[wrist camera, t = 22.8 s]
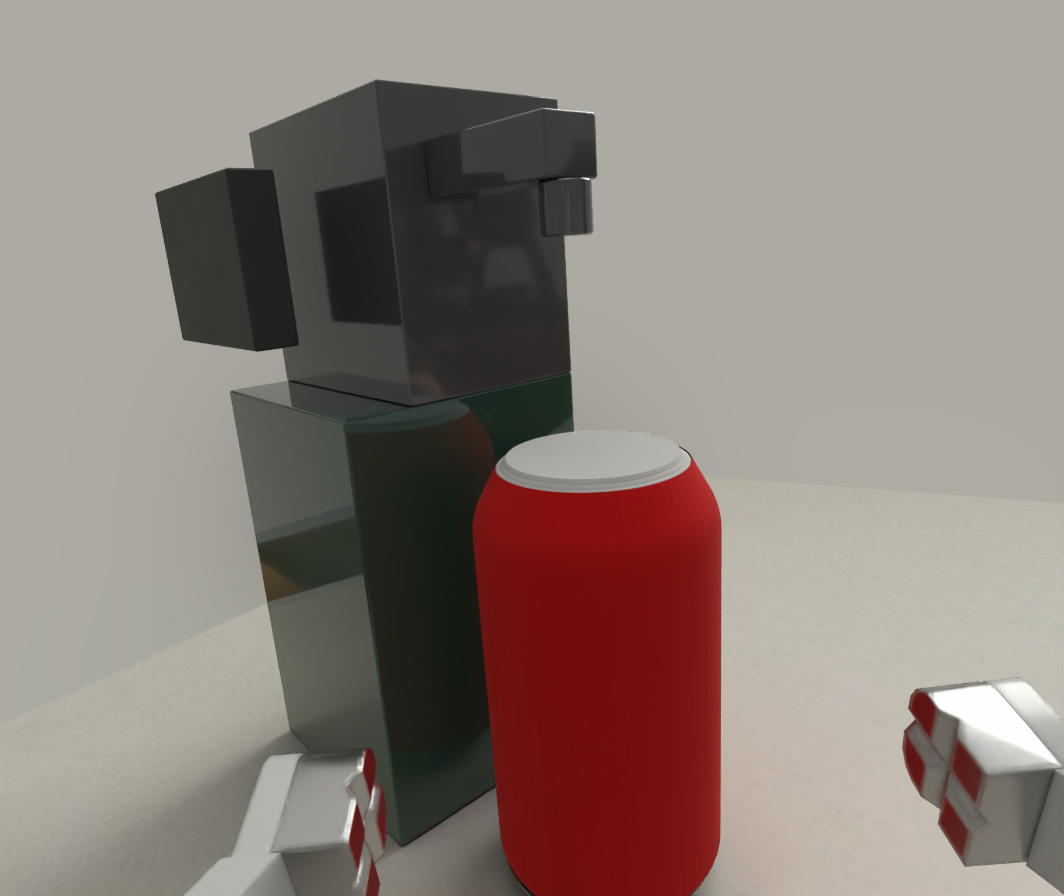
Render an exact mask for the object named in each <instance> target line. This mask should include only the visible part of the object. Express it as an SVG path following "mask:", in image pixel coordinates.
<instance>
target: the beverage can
mask: <svg viewBox="0 0 1064 896" xmlns="http://www.w3.org/2000/svg"><path fill="white" fill-rule="evenodd" d="M473 544H474V555H475V566H476V576H477V587H478V598H479V609H480V619H481V630H482V641H483V652H484V662H485V673H486V684H487V695H488V706H489V716H490V727H491V738H492V749H493V759H494V770H495V781H496V792H497V802H498V813H499V824H500V835H501V841H502V846H503V850H504V853H505V855H506V858H507V860H508V863H509V865H510V868H511V870H512V872H513V874H514V876H515V878H516V879H517V881H518V882H519V884H520V885H521V887H522V888H523V889H524V890H525V892H526V893H527V894H528V895H529V896H693V895H694V894H695V892H696V891H697V890H698V888H699V887H700V886H701V884H702V882H703V881H704V879H705V878H706V876H707V875H708V873H709V871H710V869H711V868H712V866H713V863H714V861H715V858H716V856H717V852H718V848H719V843H720V791H721V517H720V511H719V507H718V504H717V501H716V499H715V496H714V494H713V492H712V490H711V488H710V487H709V485H708V483H707V482H706V480H705V478H704V477H703V475H702V473H701V472H700V470H699V468H698V466H697V465H696V463H695V462H694V460H693V458H692V456H691V455H690V454H689V452H687V451H686V450H685V449H683V448H682V447H680V446H678V445H676V443H674V442H672V441H671V440H669V439H666V438H664V437H661V436H657V435H653V434H648V433H642V432H634V431H622V430H589V431H576V432H567V433H560V434H554V435H549V436H544V437H540V438H536V439H533V440H530V441H527V442H524V443H522V444H519V445H517V446H516V447H514V448H512V449H511V450H510V451H509V452H508V453H507V454H506V455H504V456H503V457H501V458H500V459H499V460H498V461H497V463H496V465H495V467H494V469H493V471H492V473H491V475H490V478H489V480H488V482H487V484H486V486H485V488H484V490H483V492H482V495H481V497H480V499H479V501H478V504H477V507H476V510H475V515H474V520H473Z"/></svg>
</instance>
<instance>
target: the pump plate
mask: <svg viewBox="0 0 1064 896" xmlns="http://www.w3.org/2000/svg"><path fill="white" fill-rule="evenodd" d="M155 196H156V202H157V206H158V212H159V217H160V222H161V228H162V233H163V238H164V244H165V248H166V254H167V259H168V264H169V269H170V275H171V280H172V285H173V291H174V296H175V301H176V306H177V311H178V317H179V322H180V327H181V332H182V337H183V339H184V340H187V341H193V342H200V343H206V344H212V345H219V346H225V347H232V348H238V349H244V350H251V351H257V352H258V351H265V350H272V349H279V348H286V347H293V346H297V345H299V340H298V333H297V326H296V320H295V313H294V306H293V300H292V293H291V286H290V280H289V273H288V266H287V259H286V253H285V246H284V239H283V233H282V226H281V219H280V213H279V206H278V199H277V193H276V186H275V179H274V173H273V170H272V169H260V168H226V169H223V170H220V171H217V172H214V173H211V174H208V175H206V176H203V177H200V178H197V179H194V180H191V181H188V182H186V183H183V184H180V185H177V186H174V187H171V188H169V189H165V190H163V191H160V192H157V193H156V194H155Z"/></svg>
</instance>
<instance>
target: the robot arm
mask: <svg viewBox="0 0 1064 896" xmlns="http://www.w3.org/2000/svg"><path fill="white" fill-rule="evenodd" d="M908 709H909V710H910V712H911V713H912V715H913V716H914V718H915V720H914V721H913V722H912V723H911V724H910V725H909V726H908V727H907V728H906V729H905V730H904V738H903V746H902V749H903V754H904V760H905V765H906V768H907V771H908V773H909V775H910V778H911V780H912V782H913V784H914V786H915V787H916V789H917V791H918V792H919V794H920V796H921V797H923V798H924V799H926V800H927V801H929V802H930V803H932V804H933V805H935V806H936V807H938V808H939V809H940V813H939V820H938V825H939V826H940V828H941V830H942V831H943V833H944V834H945V836H946V838H947V839H948V841H949V842H950V844H951V845H952V847H953V849H954V850H955V852H956V853H957V855H958V857H959V858H960V860H961V861H962V863H963V865H964V866H965V867H967V866H980V865H993V864H1006V863H1019V862H1027V863H1026V866H1028V867H1029V868H1030V869H1032V870H1033V871H1034V872H1035V873H1037V874H1038V875H1039V876H1041V877H1042V878H1043V879H1045V880H1046V881H1047V882H1048V883H1050V884H1051V885H1052V886H1054V887H1055V888H1056V889H1058V890H1059V891H1060V892H1061V893H1063V894H1064V721H1063V720H1062V719H1061V718H1060V717H1059V716H1058V715H1057V714H1056V712H1055V711H1054V710H1053V709H1052V708H1051V707H1050V706H1049V705H1048V704H1047V703H1046V702H1045V701H1044V700H1043V699H1042V698H1041V696H1040V695H1039V694H1038V693H1037V692H1036V691H1035V690H1034V689H1033V688H1032V687H1031V686H1030V685H1029V684H1028V683H1027V682H1026V681H1024V680H1022V679H1020V678H1018V677H1017V678H1008V679H999V680H990V681H983V682H971V683H962V684H954V685H945V686H937V687H928V688H919V689H916V690H915V691H914V692H913V694H912V695H911V697H910V702H909V707H908ZM376 767H377V763H376V760H375V756H374V753H373V750H372V749H371V748H368V747H367V748H355V749H342V750H330V751H317V752H304V753H299V754H287V755H274V756H269V757H268V759H267V760H266V761H265V763H264V764H263V765H262V768H261V771H260V773H259V776H258V779H257V782H256V785H255V788H254V791H253V793H252V796H251V799H250V802H249V805H248V808H247V811H246V813H245V816H244V819H243V822H242V825H241V828H240V831H239V833H238V836H237V839H236V842H235V845H234V848H233V851H232V853H231V856H230V857H229V858H221V859H219V860H218V861H217V862H216V863H215V864H214V865H213V866H212V867H211V868H210V869H209V870H208V871H207V872H206V873H205V874H204V875H203V876H202V877H201V878H200V879H199V880H198V881H197V882H196V883H195V884H194V885H193V886H192V887H191V888H190V889H189V890H188V891H187V892H186V893H185V894H184V895H183V896H378V893H379V886H380V882H379V878H378V874H377V871H376V867H375V864H376V863H377V862H378V861H379V859H380V858H381V857H382V856H383V854H384V851H385V843H386V835H387V809H386V801H385V795H384V791H383V787H382V785H381V784H379V783H378V782H376V781H375V780H374V779H375V773H376Z"/></svg>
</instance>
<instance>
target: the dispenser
mask: <svg viewBox="0 0 1064 896" xmlns="http://www.w3.org/2000/svg"><path fill="white" fill-rule="evenodd" d="M249 135H250V141H251V148H252V155H253V161H254V168H260V169H272V170H273V173H274V179H275V186H276V193H277V199H278V206H279V213H280V219H281V226H282V233H283V239H284V246H285V253H286V259H287V266H288V273H289V280H290V286H291V293H292V300H293V306H294V313H295V320H296V326H297V333H298V340H299V345H297V346H293V347H286V348H283V354H284V360H285V366H286V373H287V379H288V380H289V381H284V382H278V383H272V384H267V385H261V386H255V387H250V388H243V389H238V390H232V391H231V392H230V395H231V400H232V406H233V411H234V417H235V423H236V429H237V434H238V440H239V445H240V451H241V457H242V462H243V468H244V473H245V479H246V485H247V490H248V496H249V502H250V507H251V513H252V519H253V524H254V530H255V535H256V541H257V547H258V552H259V558H260V563H261V569H262V575H263V580H264V586H265V592H266V597H267V603H268V609H269V614H270V620H271V625H272V631H273V637H274V642H275V648H276V654H277V659H278V665H279V670H280V676H281V682H282V687H283V693H284V699H285V704H286V710H287V715H288V721H289V727H290V729H291V730H292V731H293V733H294V734H295V735H296V736H297V737H298V738H299V739H300V740H301V741H302V742H303V743H304V744H305V745H306V746H307V747H308V748H309V749H310V750H311V751H312V752H317V751H330V750H342V749H355V748H367V747H368V748H371V749H372V750H373V753H374V756H375V760H376V763H377V767H376V773H375V779H374V780H375V781H376V782H378V783H379V784H381V785H382V787H383V791H384V795H385V801H386V809H387V831H388V832H389V833H390V834H391V835H392V836H393V838H394V839H395V840H396V841H397V842H398V843H399V844H400V845H401V846H404V845H405V844H407V843H408V842H410V841H411V840H413V839H414V838H416V837H417V836H419V835H420V834H422V833H423V832H425V831H427V830H428V829H430V828H431V827H433V826H434V825H436V824H437V823H439V822H440V821H442V820H443V819H445V818H446V817H448V816H449V815H451V814H452V813H454V812H455V811H457V810H458V809H460V808H461V807H463V806H465V805H466V804H468V803H469V802H471V801H472V800H474V799H475V798H477V797H478V796H480V795H481V794H483V793H484V792H486V791H487V790H489V789H490V788H492V787H493V786H495V785H496V781H495V770H494V759H493V749H492V738H491V727H490V716H489V706H488V695H487V684H486V673H485V662H484V652H483V641H482V630H481V619H480V609H479V598H478V587H477V576H476V566H475V555H474V544H473V520H474V515H475V510H476V507H477V504H478V501H479V499H480V497H481V495H482V492H483V490H484V488H485V486H486V484H487V482H488V480H489V478H490V475H491V473H492V471H493V469H494V467H495V465H496V463H497V461H498V460H499V459H500V458H501V457H503V456H504V455H506V454H507V453H508V452H509V451H510V450H511V449H512V448H514V447H516V446H517V445H519V444H522V443H524V442H527V441H530V440H533V439H536V438H540V437H544V436H549V435H554V434H560V433H567V432H574V421H573V403H572V383H571V373H570V371H571V359H570V341H569V340H570V339H569V320H568V301H567V281H566V262H565V243H564V236H577V235H588V234H592V233H593V210H592V209H593V208H592V184H591V179H595V178H596V177H597V158H596V157H597V156H596V130H595V115H594V113H592V112H585V111H575V110H564V109H558V106H557V99H555V98H546V97H536V96H527V95H518V94H507V93H498V92H488V91H480V90H470V89H461V88H451V87H442V86H432V85H423V84H413V83H404V82H395V81H385V80H374V81H371V82H369V83H367V84H364V85H362V86H359V87H357V88H355V89H353V90H350V91H348V92H345V93H343V94H341V95H338V96H336V97H333V98H331V99H329V100H326V101H324V102H321V103H319V104H317V105H314V106H312V107H310V108H307V109H305V110H302V111H300V112H298V113H295V114H293V115H291V116H288V117H286V118H284V119H281V120H279V121H276V122H274V123H272V124H269V125H267V126H264V127H262V128H260V129H257V130H255V131H253V132H250V133H249Z"/></svg>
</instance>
